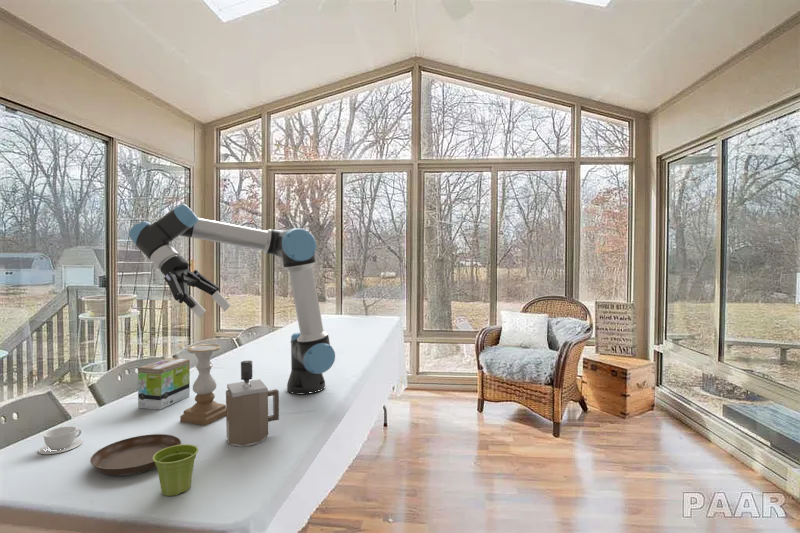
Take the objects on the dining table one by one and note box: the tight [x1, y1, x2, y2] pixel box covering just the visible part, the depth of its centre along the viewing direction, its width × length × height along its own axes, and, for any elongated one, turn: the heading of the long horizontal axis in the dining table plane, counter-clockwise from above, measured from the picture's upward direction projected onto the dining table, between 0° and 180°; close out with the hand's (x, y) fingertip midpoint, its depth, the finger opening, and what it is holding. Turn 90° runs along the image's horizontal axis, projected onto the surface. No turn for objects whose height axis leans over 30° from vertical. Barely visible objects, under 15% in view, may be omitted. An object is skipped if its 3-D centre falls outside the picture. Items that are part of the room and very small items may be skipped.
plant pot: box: [153, 443, 199, 497], centre depth 101 cm, size 9×9×9 cm
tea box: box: [137, 357, 191, 411], centre depth 159 cm, size 15×10×15 cm, turn 168°
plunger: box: [240, 360, 253, 396], centre depth 128 cm, size 9×9×22 cm
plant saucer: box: [89, 433, 182, 477], centre depth 115 cm, size 21×21×3 cm
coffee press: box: [225, 378, 280, 447], centre depth 129 cm, size 15×11×16 cm
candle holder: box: [179, 343, 226, 426], centre depth 144 cm, size 11×11×24 cm
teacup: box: [37, 425, 84, 455], centre depth 123 cm, size 10×10×5 cm
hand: (215, 311), depth 133 cm, fingers open, 13 cm apart
